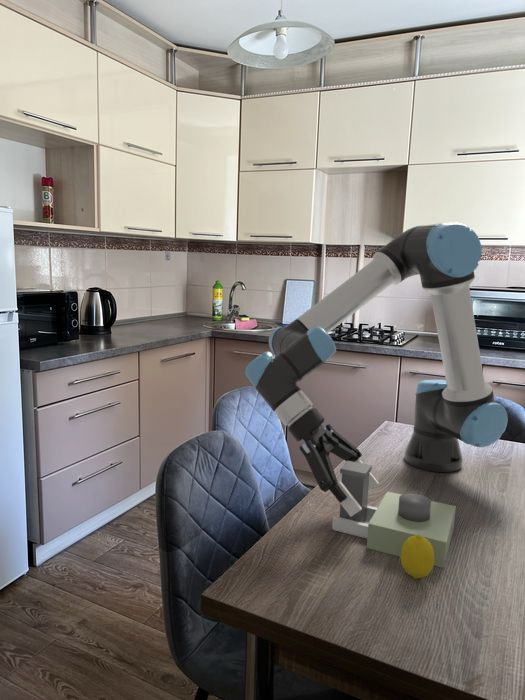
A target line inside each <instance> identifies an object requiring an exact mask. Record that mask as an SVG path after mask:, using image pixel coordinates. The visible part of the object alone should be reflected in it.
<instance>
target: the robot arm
mask: <svg viewBox="0 0 525 700" xmlns="http://www.w3.org/2000/svg"><path fill="white" fill-rule="evenodd" d="M482 253H483V249H482V244H481V240H480V238H479V236H478V234H477V233H476V231H475V230H473V228H470V227H469V226H468V225H466V224H463V223H460V222H439V223H434V224H433V223H432V224H426V225H417V226H414V227H411V228H408V229H406V230H405V231H404V232H402V233H400V234H399V235H398V236H396V237H395V238H393V239H391V240H390V241H389V242H388V243H386V245H384V246H383V247H381V248H380V249H379V250H378V251H376V252H375V253H374V254H373V256H372V257H373V258H372V260H371V261H370V262H369V263H367V264H366V265H365V266H364V267H362V268H361V269H359V270H358V271H357V272H355V274H353V275H352V276H350V277H349V278H348V279H346V280H345V281H344V282H342V283H341V284H340V285H339V286H337V287H336V288H335V289H333V290H332V291H331V292H330V293H328V294H327V295H326V296H324V297H323V298H322V299H320V300H319V301H318V302H317V303H315V304H314V305H313V306H312V307H310V308H309V309H307V310H306V311H305V312H303V313H302V314H300V316H299V317H297V318H296V319H294V320H293V321H291V322H290V323H289V324H288V325H286V326H279V327H276V328H275V329H274V330H273V331H272V332H271V333H270V334H269V338H268V347H269V349H270V351H265V352H263V353H262V354H260V355H258V356H256V357H255V358H254V359H253V360H252V361H250V363H249V364H248V365H247V366H246V367H245V369H244V370H245V371H244V372H245V376H246V378H247V380H248V381H250V383H251V385H252V386H253V387H254V389H255V390H256V391H257V393H258V394H259V395H260V396H261V398H262V399H263V400H264V401H265V403H266V404H267V405H268V407H270V409H271V410H272V411H273V413H274V414H275V415H276V418H277V419H278V420H280V421H281V422H282V424H283V425H284V426H288V428H287V430H288V432H289V433H290V435H291V436H292V437H293V438H294V440H295V441H296V442H301V441H302V440H303V441H304V443H303V444H301V445H300V446H299V450H300V451H301V453H302V454H303V455H304V457H305V460H306V462H307V464H308V466H309V468H310V470H311V472H312V475H313V477H314V479H315V481H316V483H317V485H318V488H319V489H320V490H321V491H322V492H324V493H326V492H327V491H330V492H331V494H332V495H333V496H334V498H336V500H337V501H338V503H339V505H340V504H341V505H342V506H343V508H344V509H345V510H346V511H347V513H348V514H349V515H350V517H351V516H353V515H354V514H356V513H357V512H359V511H360V510H361V509H362V508H361V506H360V505H359V504H358V502H357V501H356V500H355V499H354V497H353V496H352V495H351V494H350V492H349V491H348V490H347V489H346V487H345V486H344V485H343V483H342V480H340V481H338V479H337V476H336V474H335V470H334V467H333V465H332V462H331V459H330V453H331V454H333V455H335V456H336V457H339V459H341V460H343V461H345V463H346V462H347V461H352V462H357V463H363V464H364V462H363V461H362V460H361V457H362V456H363V455H362V453H361V451H360V450H359V449H358V448H357V447H356V446H355V445H353V444H352V443H351V442H350V441H349V440H347V439H346V438H345V437H343V435H341V433H339V432H337V430H336V429H335V428H334V427H333V426H332V424H330V423H328V424H326V425H324V426H323V425H322V424H323V423H324V422H325V418H324V416H323V415H322V414H321V413H320V411H319V410H318V409H317V407H313V402H312V401H311V400H310V398H309V397H308V396H307V395H306V394H305V392H304V391H303V390H302V389H301V388H300V387H299V385H298V383H300V382H301V381H302V380H303V379H305V378H306V377H307V376H309V375H310V374H311V373H312V372H314V371H315V370H317V369H318V368H319V367H321V366H322V365H323V364H325V363H327V361H328V360H329V359H330V358H331V357H333V356H334V355H335V354H336V353H337V347H336V344H335V342H334V340H333V338H332V336H330V334H329V333H331V331H333V330H334V329H335V328H337V327H338V326H339V325H340V324H342V323H343V322H345V321H346V320H347V319H349V318H350V317H351V316H352V315H354V314H355V313H356V312H357V311H359V310H360V309H361V308H362V307H364V306H365V305H367V304H368V303H369V302H370V301H372V300H373V299H374V298H376V297H377V296H378V295H380V294H381V293H383V291H385V290H386V289H387V288H389V287H390V286H391V285H393V286H394V285H399V284H400V283H401V282H403V281H404V280H406V279H408V278H410V277H413V276H417V275H418V276H419V277H420V282H421V287H422V289H423V290H425V291H426V292H428V293H429V295H430V298H431V299H430V300H431V303H432V304H431V305H432V309H433V317H434V320H435V325H436V326H435V328H436V333H437V338H438V343H439V348H440V354H441V360H442V365H443V370H444V371H443V372H444V377H445V379H424V380H421V381H419V382H418V383H417V386H416V390H415V391H416V392H415V402H414V403H415V405H414V417H413V418H414V419H413V432H412V434H411V437H410V439H409V441H408V443H407V446H406V448H405V449H404V450H405V451H404V460H405V462H406V463H407V464H409V465H410V466H413V467H415V468H417V469H421V470H424V471H429V472H436V473H448V472H449V473H451V472H456V471H460V470H461V469H462V467H463V460H464V459H463V454H462V451H461V450H462V449H461V447H460V442H459V440H460V441H461V442H463V443H464V444H466V445H470V446H471V447H472V446H473V447H474V448H487V447H489V446H491V445H494V444H495V443H496V442H497V441H498V440H500V439H501V437H502V435H503V434H504V433H505V431H506V429H507V426H508V421H509V420H508V412H507V410H506V409H505V407H504V406H502V404H500V403H499V402H496V401H495V395H494V394H495V393H494V389H493V387H492V385H491V384H490V383H487V381H485V376H484V370H483V369H484V368H483V364H482V357H481V352H480V346H479V340H478V339H479V338H478V334H477V327H476V321H475V316H474V308H473V303H472V297H471V290H470V285H471V284H472V282H473V281H474V280H475V278H476V277H475V276H476V275H475V270H476V269H477V268H478V267H479V262H480V261H481V259H482V255H483V254H482ZM371 472H372V471H370V473H369V487H368V491H370V490H372V489H373V488H375V487H376V486H378V485H379V481H378V480H377V479H376V477H375V476H374V475H373V473H371Z"/></svg>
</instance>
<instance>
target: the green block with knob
mask: <svg viewBox="0 0 525 700" xmlns="http://www.w3.org/2000/svg"><path fill="white" fill-rule="evenodd" d="M383 496H384V497H383V498H382V500H381V502H380V503H379V504H378V507H376V506H371V505H367V517H366V521H365V523H361V522H357V521H353V520H349V519H344V518H340V516H336V515H334V516H333V517H332V527H331V528H332V531H337V532H340V533H344V534H348V535H352V536H355V537H360V538H364V539H366V549H369V550H373V551H377V552H380V553H384V554H389V555H392V556H396V557H399V558H401V550H402V547H403V544H404V542H405V541H406V540H407V539H408V538H409V537H411V536H415V535H421V536H422V537H424V538H426V539H427V540H428V541H429V542H430V543H431V545H432V547H433V550H434V566H433V567H438V568H442V569H444V568H445V566H446V562H447V558H448V553H449V549H450V545H451V541H452V537H453V534H454V530H455V518H456V509H457V506H456V505H452V504H448V503H441V502H438V501H432V500H431V499H430V498H428V497H426V496H425V495H422V494H418V493H403V494H400V493H395V492H392V491H387V492H386V493H385V495H383Z"/></svg>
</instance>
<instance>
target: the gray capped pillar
mask: <svg viewBox="0 0 525 700" xmlns="http://www.w3.org/2000/svg"><path fill="white" fill-rule="evenodd" d="M372 469H373V465H372V464H367V463H364V462H363V463H357V462H352V461H347V462H346V461H345V462H344V464H343V465H342V466H341V467H340V468H339V474H341V482H342V483H343V485H344V486H345V487H346V489H347V490H348V491H349V492H350V494H351V495H352V496H353V497H354V499H355V500H356V501H357V502H358V504H359V505H360V506H361V508H362V509H361V510H360V511H359V512H357V513H356V514H354V515H353V516H351V517H350V515H349V514H348V513H347V511H346V510H345V509H344V508H343V506H342V505H341V504H340V503H339V517H340V518H344V519H349V520H353V521H357V522H361V523H365V521H366V517H367V506H368V503H369V502H368V500H369V496H368V495H369V490H368V487H369V473H370V472H372Z"/></svg>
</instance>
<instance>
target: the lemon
mask: <svg viewBox="0 0 525 700" xmlns="http://www.w3.org/2000/svg"><path fill="white" fill-rule="evenodd" d="M400 562H401V565H402V566H401V567H402V568H403V570H404V571H405V572H406V574H407V575H409V576H411V577H412V578H413V579H414V580H418V579H421V578H425V577H427V576H428V575H429V574H431V572H432V570H433V568H434V567H435V566H434V550H433V547H432V545H431V543H430V542H429V541H428V540H427V539H426V538H424V537H422V536H421V535H415V536H411V537H409V538H408V539H407V540H406V541H405V542H404V544H403V547H402V550H401V557H400Z"/></svg>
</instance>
